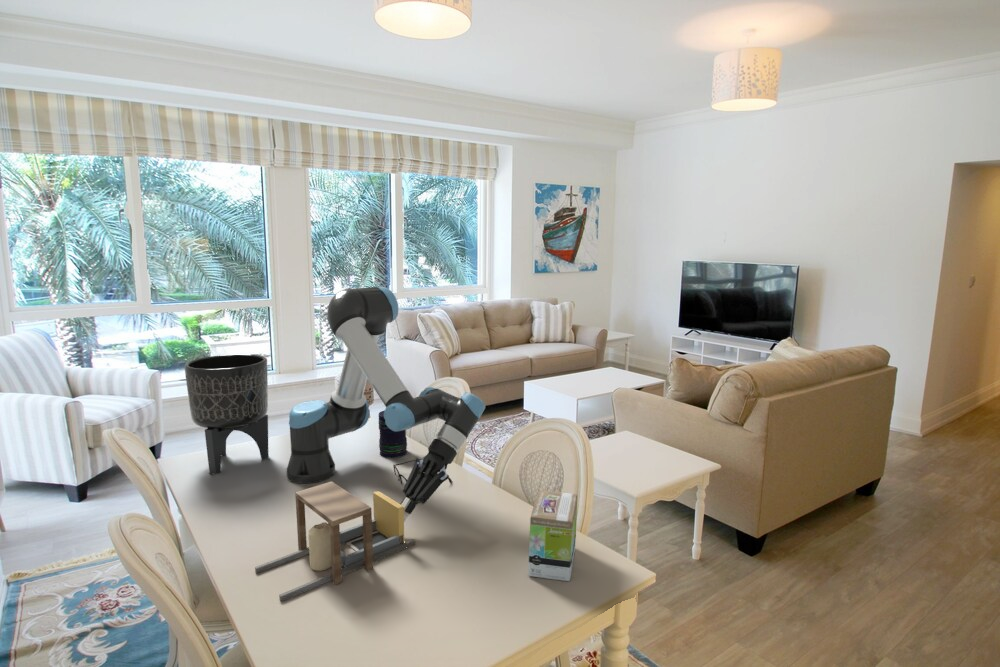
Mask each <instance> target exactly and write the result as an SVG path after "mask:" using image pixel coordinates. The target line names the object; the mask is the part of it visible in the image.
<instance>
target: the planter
mask: <svg viewBox="0 0 1000 667" xmlns="http://www.w3.org/2000/svg"><path fill="white" fill-rule="evenodd" d="M184 374H185V382H186V390H187V395H188V404H189V410H190V418H191V421H192V423H194V425H196V426H198V427H201V428H205V429H204V437H205V445H206V446H205V447H206V453H207V455H206V456H207V463H208V473H209V474H210V475H218V474H220V473H222V472H221V471H222V470H221V467H222V466H221V465H222V456H225V455H227V439H228V437H229V436H230V435H231V433H233V432H235V431H236V432H237V431H238V432H242V433H245V434H246V435H247V436H250V438H252V439H253V441H254V442H255V444H256V445H257V448H258V450H259V455H260V459H261V461H262V460H268V459H269V457H270V456H269V414H268V409H269V399H268V397H269V395H268V394H269V392H268V386H269V385H268V384H269V382H268V359H267V357H265V356H263V355H259V354H249V353H248V354H247V353H246V354H245V353H236V354H234V353H232V354H231V353H230V354H222V355H221V354H219V355H212V356H211V355H210V356H206V357H200V358H195V359H193V360H192V359H191V360H189V361H188V362H185V364H184Z"/></svg>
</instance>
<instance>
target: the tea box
mask: <svg viewBox="0 0 1000 667" xmlns="http://www.w3.org/2000/svg"><path fill="white" fill-rule="evenodd" d="M577 514H578V494H577V493H569V492H561V491H560V492H559V491H548V490H538V492H537V495H536V499H535V502H534V505H533V508H532V511H531V514H530V517H529V520H530V521H529V523H530V524H529V546H528V548H529V549H528V569H527V570H528V573H527V574H528V577H534V578H541V579H548V580H556V581H562V582H563V581H565V582H570V580H571V576H572V571H573V563H574V556H575V550H576V543H577V542H576V540H577V539H576V537H577V516H578V515H577Z"/></svg>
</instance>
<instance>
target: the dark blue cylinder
mask: <svg viewBox="0 0 1000 667" xmlns="http://www.w3.org/2000/svg"><path fill="white" fill-rule="evenodd" d="M384 411H385V409H384V410H382V411H380V412H378V430H379V438H378V439H379V440H378V443H379V444H378V448H379V456H380V455H381V456H380V457H381V458H384V457H385V458H386V459H397V458H402V457H404V456H406V455H407V453H408V450H407V449H408V448H407V447H408V440H407V439H408V438H407V432H406V430H402V431H393V430H391V429H390V428H388V426H387V425H386V423H385V419H384Z"/></svg>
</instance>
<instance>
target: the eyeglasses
mask: <svg viewBox="0 0 1000 667" xmlns="http://www.w3.org/2000/svg"><path fill="white" fill-rule="evenodd" d="M418 459H419V460H421V459H422V458H418ZM414 461H415V459H414V460H409V461H404V462H400V463H397V464H396V463H395V464H393V465H392V467H393V471H394V472H393V473H394V476H395V475H396V476H398V481H400V484H401V485H402V484H403V479H404V480H405V483H406V482H407V479H408V478H406V477H405V476H404V475H402V474H400V472H399V469H398V468H397V466H399V465H403V464H407V463H410V462H414ZM397 474H398V475H397ZM447 480H448V482H449V483H452V482H453V481H452V479H451V478H450V477H449V478H448V479H447ZM451 481H452V482H451Z"/></svg>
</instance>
